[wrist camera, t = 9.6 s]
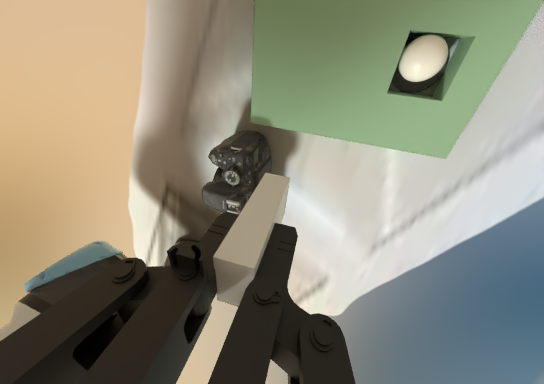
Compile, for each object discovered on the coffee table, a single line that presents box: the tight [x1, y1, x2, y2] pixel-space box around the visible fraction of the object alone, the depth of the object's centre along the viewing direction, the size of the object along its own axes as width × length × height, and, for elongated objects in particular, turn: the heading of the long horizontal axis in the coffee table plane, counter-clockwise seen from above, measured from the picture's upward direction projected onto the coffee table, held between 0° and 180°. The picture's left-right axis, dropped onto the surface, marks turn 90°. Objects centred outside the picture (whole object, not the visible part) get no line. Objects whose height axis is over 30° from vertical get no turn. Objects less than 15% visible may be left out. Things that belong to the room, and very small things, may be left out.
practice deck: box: [251, 0, 544, 159], centre depth 23 cm, size 24×17×3 cm
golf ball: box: [399, 34, 448, 82], centre depth 21 cm, size 4×4×4 cm
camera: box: [202, 131, 271, 214], centre depth 32 cm, size 13×10×10 cm
